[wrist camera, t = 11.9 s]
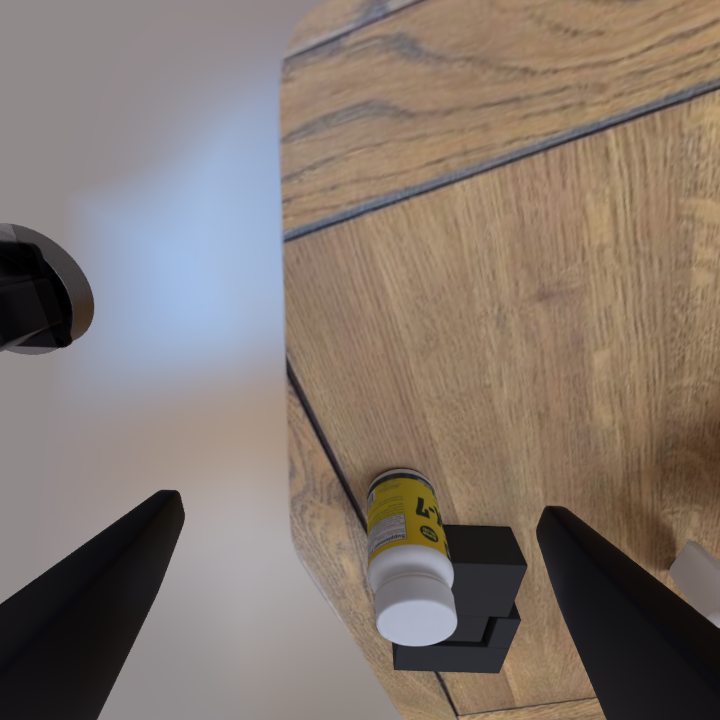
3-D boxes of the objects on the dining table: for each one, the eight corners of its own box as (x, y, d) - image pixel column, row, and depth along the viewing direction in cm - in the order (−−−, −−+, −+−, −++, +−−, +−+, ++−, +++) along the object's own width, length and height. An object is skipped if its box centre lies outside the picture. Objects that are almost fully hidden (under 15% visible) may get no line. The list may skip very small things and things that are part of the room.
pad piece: (406, 599, 30) (410, 640, 27) (417, 523, 26) (424, 562, 23) (486, 602, 30) (498, 642, 27) (510, 527, 26) (528, 566, 23)
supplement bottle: (445, 499, 24) (482, 635, 17) (389, 524, 26) (400, 661, 18) (412, 455, 23) (437, 584, 15) (354, 483, 24) (349, 616, 16)
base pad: (391, 630, 32) (393, 670, 29) (398, 575, 28) (402, 615, 26) (487, 633, 32) (499, 673, 29) (506, 579, 28) (521, 619, 26)
